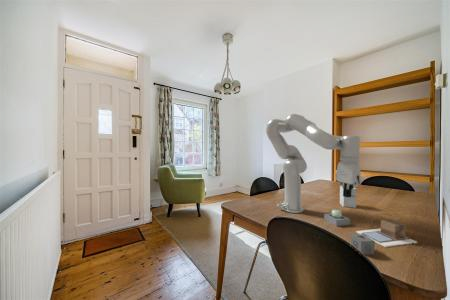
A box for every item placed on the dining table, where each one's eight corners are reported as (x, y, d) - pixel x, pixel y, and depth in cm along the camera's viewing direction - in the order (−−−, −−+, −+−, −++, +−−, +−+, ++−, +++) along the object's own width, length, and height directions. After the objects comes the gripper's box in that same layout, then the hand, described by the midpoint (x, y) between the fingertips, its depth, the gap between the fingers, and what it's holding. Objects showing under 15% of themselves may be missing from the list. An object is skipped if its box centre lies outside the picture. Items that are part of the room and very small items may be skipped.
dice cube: (362, 246, 67) (363, 234, 67) (374, 254, 62) (374, 241, 62) (350, 247, 67) (350, 234, 67) (361, 254, 62) (361, 241, 62)
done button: (336, 220, 87) (336, 212, 87) (329, 216, 91) (329, 209, 91) (343, 219, 88) (343, 212, 87) (336, 216, 92) (336, 209, 92)
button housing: (336, 226, 85) (336, 220, 85) (324, 219, 92) (324, 214, 92) (349, 224, 86) (350, 219, 86) (336, 218, 94) (336, 213, 94)
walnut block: (394, 238, 71) (394, 225, 71) (380, 232, 77) (380, 220, 77) (405, 237, 72) (405, 224, 72) (390, 231, 78) (391, 219, 78)
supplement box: (343, 206, 113) (343, 187, 113) (339, 203, 120) (339, 185, 120) (356, 208, 111) (356, 188, 111) (351, 204, 118) (352, 186, 118)
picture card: (385, 247, 67) (385, 245, 67) (356, 232, 78) (356, 230, 78) (417, 243, 70) (417, 241, 70) (384, 229, 81) (384, 227, 81)
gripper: (330, 158, 92) (328, 192, 93) (357, 162, 77) (354, 202, 78) (342, 159, 93) (340, 192, 94) (370, 162, 79) (368, 201, 80)
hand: (346, 196), depth 86 cm, fingers closed
